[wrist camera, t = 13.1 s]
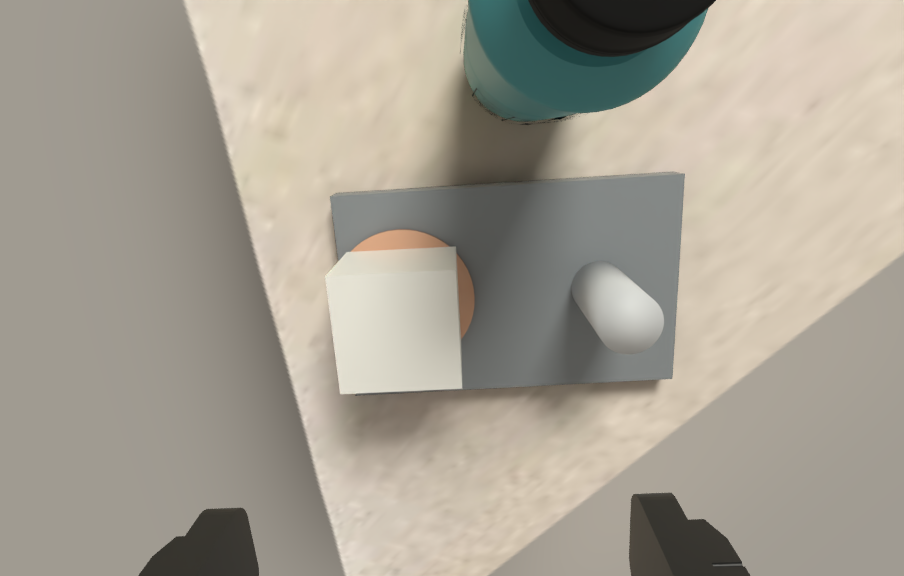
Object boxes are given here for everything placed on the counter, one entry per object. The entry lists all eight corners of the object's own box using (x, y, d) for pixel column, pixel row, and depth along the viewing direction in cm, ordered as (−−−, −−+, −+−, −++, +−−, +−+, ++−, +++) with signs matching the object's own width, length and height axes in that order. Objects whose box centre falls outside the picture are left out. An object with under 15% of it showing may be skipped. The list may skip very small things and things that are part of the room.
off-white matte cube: (456, 246, 29) (455, 269, 24) (461, 347, 31) (462, 388, 26) (346, 252, 29) (325, 276, 24) (358, 352, 31) (340, 394, 26)
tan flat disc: (470, 224, 29) (470, 226, 29) (477, 358, 32) (478, 362, 31) (325, 233, 29) (323, 235, 29) (343, 365, 32) (341, 369, 31)
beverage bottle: (503, 148, 30) (588, 189, 10) (434, 40, 28) (386, -147, 9) (606, 77, 28) (913, -25, 9) (540, -40, 27) (747, -451, 8)
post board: (673, 171, 30) (742, 186, 23) (662, 367, 33) (719, 434, 26) (336, 193, 30) (298, 213, 23) (359, 384, 34) (333, 453, 27)
